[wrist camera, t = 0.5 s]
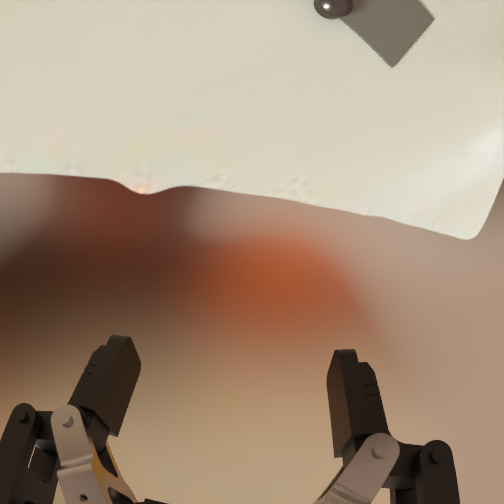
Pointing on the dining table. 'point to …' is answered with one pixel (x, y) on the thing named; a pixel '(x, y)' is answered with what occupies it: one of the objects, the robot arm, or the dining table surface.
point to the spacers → (333, 8)
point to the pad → (388, 25)
